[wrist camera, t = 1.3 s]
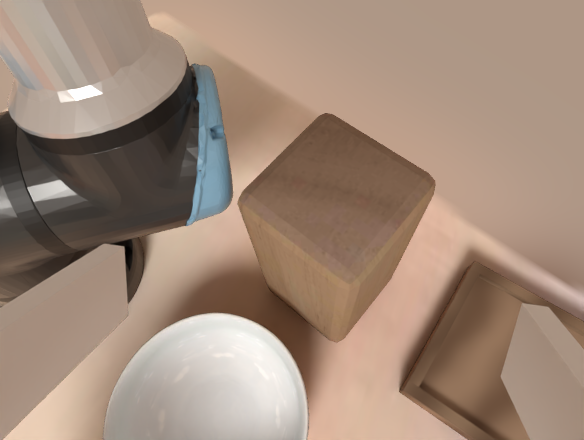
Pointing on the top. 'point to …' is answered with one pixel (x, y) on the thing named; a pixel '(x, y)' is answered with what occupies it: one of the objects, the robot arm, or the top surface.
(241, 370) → the cereal bowl
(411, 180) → the block
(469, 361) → the tray
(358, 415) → the top surface
